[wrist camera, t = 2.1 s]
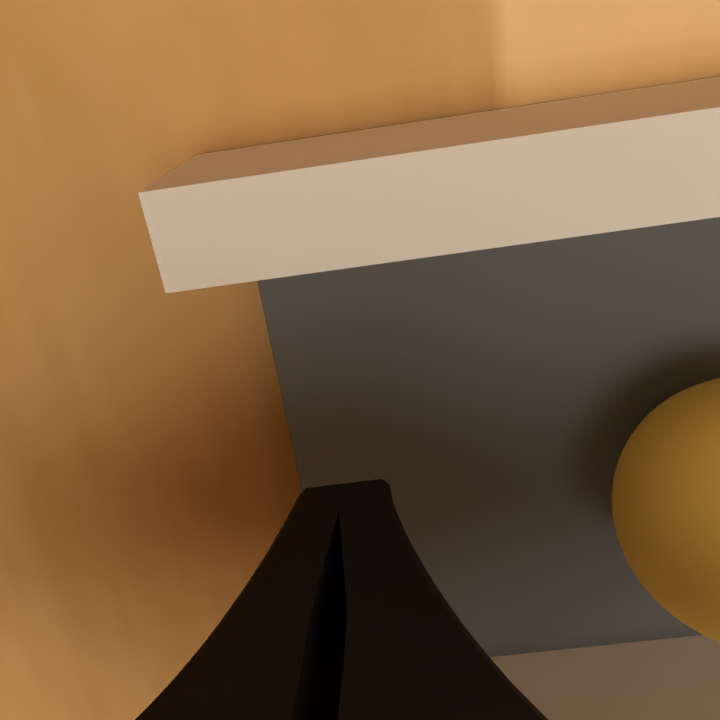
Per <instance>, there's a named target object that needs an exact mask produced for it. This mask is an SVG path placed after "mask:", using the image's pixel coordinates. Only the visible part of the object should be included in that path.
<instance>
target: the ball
mask: <svg viewBox="0 0 720 720" xmlns="http://www.w3.org/2000/svg"><path fill="white" fill-rule="evenodd" d="M612 512H613V520H614V525H615V529H616V533H617V537H618V541H619V543H620V546H621V548H622V550H623V553H624V555H625V557H626V560H627V562H628V564H629V565H630V567H631V569H632V570H633V572H634V573H635V575H636V576H637V578H638V579H639V581H640V582H641V584H642V585H643V587H644V588H645V589H646V590H647V591H648V592H649V593H650V594H651V595H652V597H653V598H654V599H655V600H656V601H657V602H658V603H659V604H660V605H661V606H662V607H663V608H665V609H666V610H667V611H668V612H669V613H671V614H672V615H673V616H674V617H676V618H677V619H678V620H680V621H681V622H682V623H684V624H685V625H687V626H689V627H691V628H692V629H694V630H696V631H697V632H699V633H701V634H703V635H705V636H706V637H708V638H711V639H713V640H716V641H719V642H720V378H717V379H713V380H710V381H706V382H703V383H700V384H697V385H694V386H692V387H689V388H687V389H685V390H682V391H681V392H679V393H677V394H675V395H673V396H671V397H670V398H668V399H667V400H665V401H664V402H662V403H661V404H659V405H658V406H657V407H656V408H655V409H654V410H652V411H651V412H650V413H649V414H648V415H647V416H646V417H645V418H644V419H643V420H642V421H641V423H640V424H639V425H638V427H637V428H636V429H635V431H634V432H633V433H632V435H631V436H630V437H629V439H628V441H627V443H626V444H625V446H624V448H623V450H622V453H621V455H620V458H619V460H618V464H617V467H616V471H615V475H614V479H613V488H612Z"/></svg>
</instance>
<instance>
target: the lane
mask: <svg viewBox="0 0 720 720" xmlns="http://www.w3.org/2000/svg"><path fill="white" fill-rule="evenodd" d="M138 194H139V198H140V201H141V205H142V209H143V212H144V216H145V220H146V223H147V227H148V231H149V234H150V238H151V242H152V245H153V249H154V253H155V256H156V260H157V264H158V267H159V271H160V275H161V278H162V282H163V286H164V289H165V293H172V292H179V291H186V290H194V289H201V288H208V287H215V286H223V285H230V284H237V283H244V282H252V281H258V285H259V290H260V294H261V299H262V304H263V308H264V313H265V318H266V322H267V327H268V332H269V336H270V341H271V346H272V350H273V355H274V360H275V365H276V369H277V374H278V379H279V383H280V388H281V393H282V397H283V402H284V407H285V411H286V416H287V421H288V426H289V430H290V435H291V440H292V444H293V449H294V454H295V458H296V463H297V468H298V472H299V477H300V482H301V487H302V491H303V490H304V489H305V488H310V487H319V486H327V485H335V484H343V483H352V482H360V481H368V480H376V479H383V480H384V481H386V482H387V483H389V484H390V489H391V495H392V500H393V503H394V506H395V509H396V511H397V514H398V516H399V519H400V521H401V523H402V525H403V528H404V530H405V532H406V534H407V536H408V538H409V540H410V542H411V544H412V545H413V547H414V549H415V551H416V553H417V554H418V556H419V558H420V560H421V562H422V563H423V565H424V567H425V569H426V570H427V572H428V573H429V575H430V577H431V578H432V580H433V582H434V583H435V585H436V586H437V588H438V589H439V591H440V592H441V594H442V595H443V597H444V598H445V600H446V601H447V603H448V604H449V605H450V607H451V608H452V610H453V611H454V612H455V614H456V615H457V617H458V618H459V619H460V621H461V622H462V623H463V625H464V626H465V627H466V629H467V630H468V631H469V633H470V634H471V635H472V636H473V638H474V639H475V640H476V641H477V643H478V644H479V645H480V646H481V647H482V649H483V650H484V651H485V652H486V654H487V655H488V656H489V657H490V658H491V659H492V661H493V662H494V663H495V664H496V665H497V666H498V667H499V669H500V670H501V671H502V672H503V673H504V674H505V676H506V677H507V678H508V679H509V680H510V681H511V682H512V683H513V684H514V685H515V686H516V687H517V688H518V689H519V690H520V692H521V693H522V694H523V695H524V696H525V697H526V698H527V699H528V700H529V701H530V702H531V703H532V704H533V705H534V706H535V707H536V708H537V709H538V710H539V711H540V712H541V713H542V714H543V715H544V716H545V717H546V718H547V719H548V720H720V642H719V641H716V640H713V639H711V638H708V637H706V636H705V635H703V634H701V633H699V632H697V631H696V630H694V629H692V628H691V627H689V626H687V625H685V624H684V623H682V622H681V621H680V620H678V619H677V618H676V617H674V616H673V615H672V614H671V613H669V612H668V611H667V610H666V609H665V608H663V607H662V606H661V605H660V604H659V603H658V602H657V601H656V600H655V599H654V598H653V597H652V595H651V594H650V593H649V592H648V591H647V590H646V589H645V588H644V587H643V585H642V584H641V582H640V581H639V579H638V578H637V576H636V575H635V573H634V572H633V570H632V569H631V567H630V565H629V564H628V562H627V560H626V557H625V555H624V553H623V550H622V548H621V546H620V543H619V541H618V537H617V533H616V529H615V525H614V520H613V512H612V488H613V479H614V475H615V471H616V467H617V464H618V460H619V458H620V455H621V453H622V450H623V448H624V446H625V444H626V443H627V441H628V439H629V437H630V436H631V435H632V433H633V432H634V431H635V429H636V428H637V427H638V425H639V424H640V423H641V421H642V420H643V419H644V418H645V417H646V416H647V415H648V414H649V413H650V412H651V411H652V410H654V409H655V408H656V407H657V406H658V405H659V404H661V403H662V402H664V401H665V400H667V399H668V398H670V397H671V396H673V395H675V394H677V393H679V392H681V391H682V390H685V389H687V388H689V387H692V386H694V385H697V384H700V383H703V382H706V381H710V380H713V379H717V378H720V76H718V77H712V78H705V79H698V80H692V81H685V82H678V83H672V84H665V85H658V86H652V87H645V88H638V89H632V90H625V91H618V92H612V93H605V94H598V95H592V96H585V97H578V98H572V99H565V100H558V101H551V102H545V103H538V104H531V105H525V106H518V107H511V108H505V109H498V110H491V111H485V112H478V113H471V114H465V115H458V116H451V117H445V118H438V119H431V120H425V121H418V122H411V123H405V124H398V125H391V126H385V127H378V128H371V129H364V130H358V131H351V132H344V133H338V134H331V135H324V136H318V137H311V138H304V139H298V140H291V141H284V142H278V143H271V144H264V145H258V146H251V147H244V148H238V149H231V150H224V151H218V152H211V153H204V154H198V155H195V156H193V157H192V158H190V159H189V160H187V161H186V162H184V163H183V164H181V165H180V166H178V167H177V168H175V169H174V170H172V171H170V172H169V173H167V174H166V175H164V176H163V177H161V178H160V179H158V180H157V181H155V182H154V183H152V184H151V185H149V186H148V187H146V188H144V189H143V190H141V191H140V192H138Z"/></svg>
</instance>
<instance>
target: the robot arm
mask: <svg viewBox="0 0 720 720" xmlns="http://www.w3.org/2000/svg"><path fill="white" fill-rule="evenodd" d="M135 720H548V719H547V718H546V717H545V716H544V715H543V714H542V713H541V712H540V711H539V710H538V709H537V708H536V707H535V706H534V705H533V704H532V703H531V702H530V701H529V700H528V699H527V698H526V697H525V696H524V695H523V694H522V693H521V692H520V690H519V689H518V688H517V687H516V686H515V685H514V684H513V683H512V682H511V681H510V680H509V679H508V678H507V677H506V676H505V674H504V673H503V672H502V671H501V670H500V669H499V667H498V666H497V665H496V664H495V663H494V662H493V661H492V659H491V658H490V657H489V656H488V655H487V654H486V652H485V651H484V650H483V649H482V647H481V646H480V645H479V644H478V643H477V641H476V640H475V639H474V638H473V636H472V635H471V634H470V633H469V631H468V630H467V629H466V627H465V626H464V625H463V623H462V622H461V621H460V619H459V618H458V617H457V615H456V614H455V612H454V611H453V610H452V608H451V607H450V605H449V604H448V603H447V601H446V600H445V598H444V597H443V595H442V594H441V592H440V591H439V589H438V588H437V586H436V585H435V583H434V582H433V580H432V578H431V577H430V575H429V573H428V572H427V570H426V569H425V567H424V565H423V563H422V562H421V560H420V558H419V556H418V554H417V553H416V551H415V549H414V547H413V545H412V544H411V542H410V540H409V538H408V536H407V534H406V532H405V530H404V528H403V525H402V523H401V521H400V519H399V516H398V514H397V511H396V509H395V506H394V503H393V500H392V495H391V489H390V484H389V483H387V482H386V481H384V480H383V479H376V480H368V481H360V482H352V483H343V484H335V485H327V486H319V487H310V488H305V489H304V490H303V491H302V493H301V494H300V495H299V497H298V499H297V501H296V503H295V505H294V506H293V508H292V510H291V512H290V514H289V516H288V518H287V519H286V521H285V523H284V525H283V527H282V528H281V530H280V532H279V534H278V535H277V537H276V539H275V540H274V542H273V544H272V546H271V547H270V549H269V550H268V552H267V554H266V555H265V557H264V558H263V560H262V562H261V563H260V565H259V566H258V568H257V569H256V571H255V573H254V574H253V576H252V577H251V579H250V580H249V582H248V583H247V585H246V586H245V588H244V589H243V591H242V592H241V594H240V595H239V596H238V598H237V599H236V601H235V602H234V603H233V605H232V606H231V608H230V609H229V610H228V612H227V613H226V615H225V616H224V617H223V619H222V620H221V622H220V623H219V624H218V626H217V627H216V628H215V630H214V631H213V632H212V633H211V635H210V636H209V637H208V639H207V640H206V641H205V642H204V644H203V645H202V646H201V647H200V649H199V650H198V651H197V652H196V654H195V655H194V656H193V657H192V658H191V660H190V661H189V662H188V663H187V664H186V665H185V667H184V668H183V669H182V670H181V671H180V672H179V674H178V675H177V676H176V677H175V678H174V679H173V681H172V682H171V683H170V684H169V685H168V686H167V687H166V688H165V689H164V690H163V691H162V692H161V694H160V695H159V696H158V697H157V698H156V699H155V700H154V701H153V702H152V703H151V704H150V705H149V706H148V707H147V708H146V709H145V710H144V711H143V712H142V713H141V714H140V715H139V716H138V717H137V718H136V719H135Z"/></svg>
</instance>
